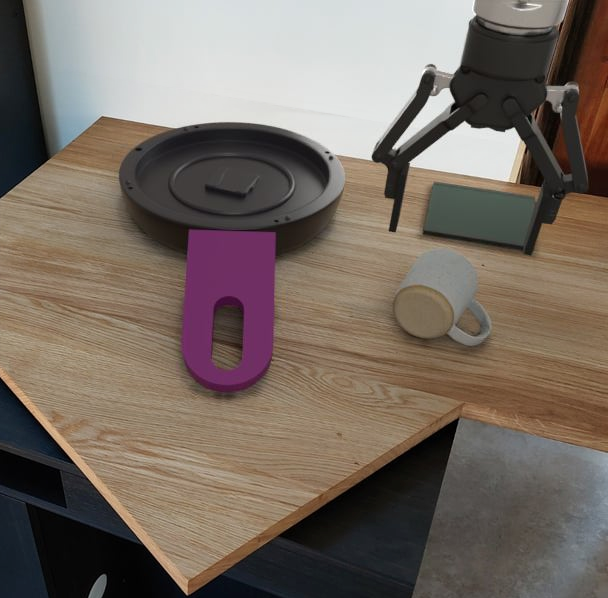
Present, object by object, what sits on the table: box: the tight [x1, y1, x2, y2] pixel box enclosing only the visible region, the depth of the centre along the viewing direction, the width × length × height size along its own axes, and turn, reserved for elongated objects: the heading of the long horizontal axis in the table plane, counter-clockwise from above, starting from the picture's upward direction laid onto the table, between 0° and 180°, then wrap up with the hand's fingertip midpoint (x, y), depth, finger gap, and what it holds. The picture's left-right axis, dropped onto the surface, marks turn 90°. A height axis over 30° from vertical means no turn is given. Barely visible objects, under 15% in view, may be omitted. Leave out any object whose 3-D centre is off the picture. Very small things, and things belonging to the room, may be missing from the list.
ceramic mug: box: [392, 247, 493, 347], centre depth 85 cm, size 11×8×8 cm
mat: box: [422, 180, 536, 251], centre depth 106 cm, size 14×14×1 cm
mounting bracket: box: [180, 230, 276, 394], centre depth 85 cm, size 10×8×18 cm
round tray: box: [118, 121, 346, 256], centre depth 105 cm, size 30×6×30 cm
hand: (459, 237), depth 81 cm, fingers open, 13 cm apart
